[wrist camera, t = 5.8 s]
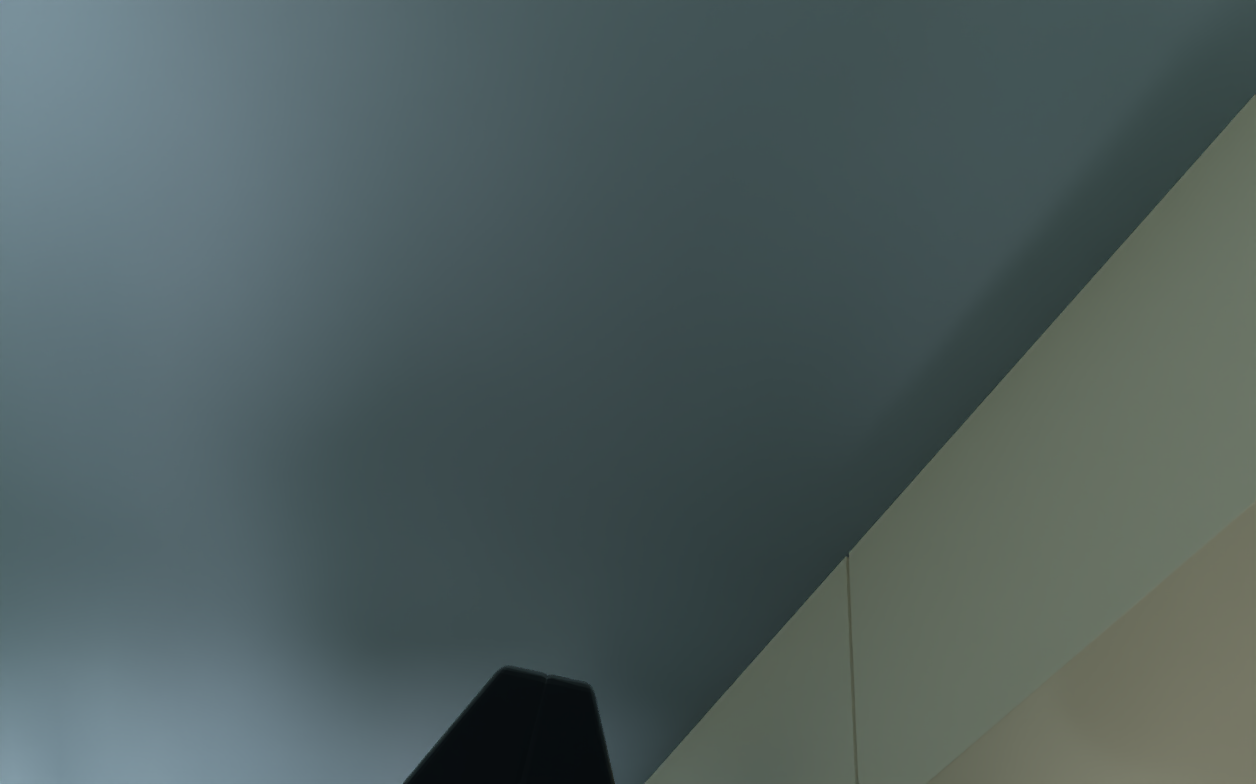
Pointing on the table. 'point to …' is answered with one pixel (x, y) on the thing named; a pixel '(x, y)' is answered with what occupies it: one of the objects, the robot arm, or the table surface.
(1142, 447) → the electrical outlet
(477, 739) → the robot arm
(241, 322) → the table surface
